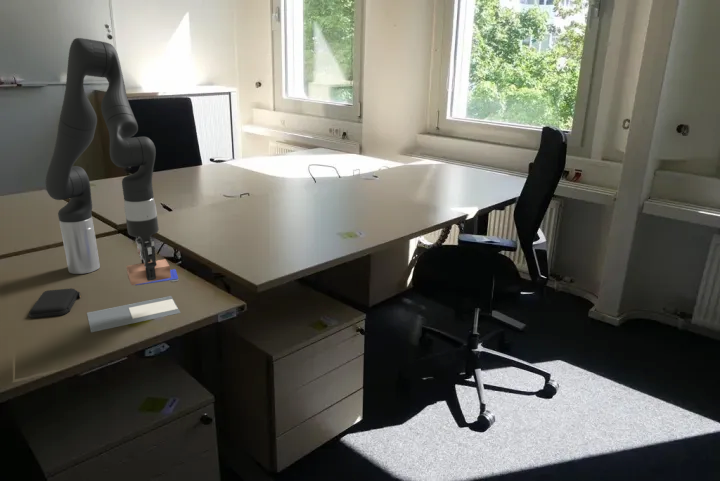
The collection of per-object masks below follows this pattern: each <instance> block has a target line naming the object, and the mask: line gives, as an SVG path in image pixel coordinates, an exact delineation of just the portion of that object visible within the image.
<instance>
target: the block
mask: <svg viewBox="0 0 720 481" xmlns="http://www.w3.org/2000/svg"><path fill="white" fill-rule="evenodd" d="M150 261H151V262H152V260H150ZM148 263H150V262H148ZM156 264H157V265H156V266H155V274H156V279H155V280H150V281H148V280H147V277H146V269H145V267H144V263H142V262H141V263H140V262H139V263H136V264H135V263H134V264H129V265H126V273H127V278H128V281H129V283H130V285H131V286H137V285H136V284H141V283H146V282H152V281H157V280H162V279H167V278H171V273H170V270H171V266H170V264H169V262H168V261H167V259H166V258H165V259H158V260H156ZM141 285H142V284H141Z"/></svg>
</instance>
